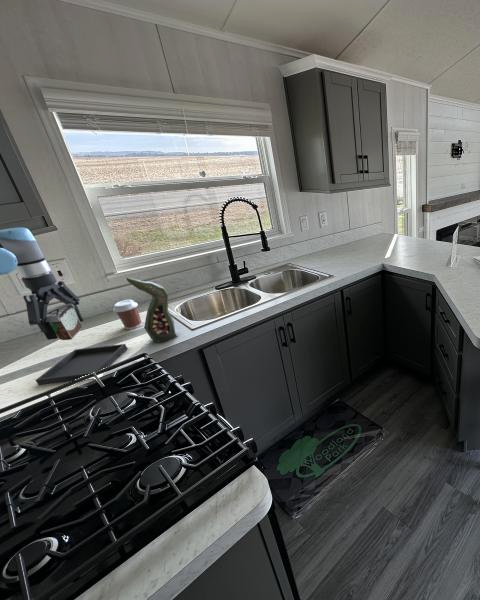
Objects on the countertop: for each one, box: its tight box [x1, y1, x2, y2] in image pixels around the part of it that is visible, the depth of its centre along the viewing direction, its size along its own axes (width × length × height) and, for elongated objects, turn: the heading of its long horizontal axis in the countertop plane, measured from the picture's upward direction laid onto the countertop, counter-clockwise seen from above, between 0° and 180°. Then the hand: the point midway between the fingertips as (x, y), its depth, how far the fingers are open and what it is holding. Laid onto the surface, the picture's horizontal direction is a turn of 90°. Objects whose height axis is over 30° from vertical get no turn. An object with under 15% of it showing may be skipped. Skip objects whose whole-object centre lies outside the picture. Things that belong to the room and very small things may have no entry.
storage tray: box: [35, 343, 128, 386], centre depth 126 cm, size 20×19×2 cm
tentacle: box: [125, 277, 177, 343], centre depth 138 cm, size 9×12×30 cm
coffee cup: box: [112, 299, 143, 330], centre depth 152 cm, size 9×9×12 cm
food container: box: [46, 303, 84, 341], centre depth 117 cm, size 12×6×10 cm, turn 24°
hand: (66, 329), depth 119 cm, fingers closed on food container, 12 cm apart
